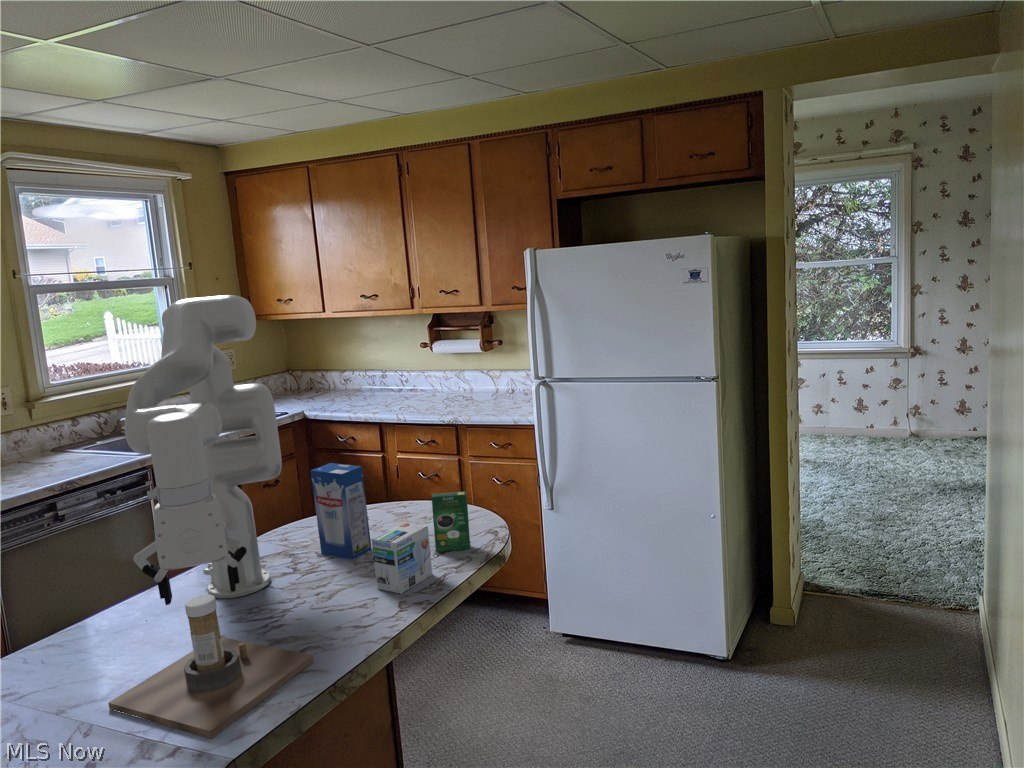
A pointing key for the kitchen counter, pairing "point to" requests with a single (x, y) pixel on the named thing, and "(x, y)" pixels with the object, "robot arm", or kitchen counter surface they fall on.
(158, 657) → the kitchen counter surface
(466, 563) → the kitchen counter surface
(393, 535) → the light bulb box
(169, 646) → the kitchen counter surface
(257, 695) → the collar board
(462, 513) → the coffee box
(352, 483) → the milk carton
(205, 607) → the sprinkles bottle
